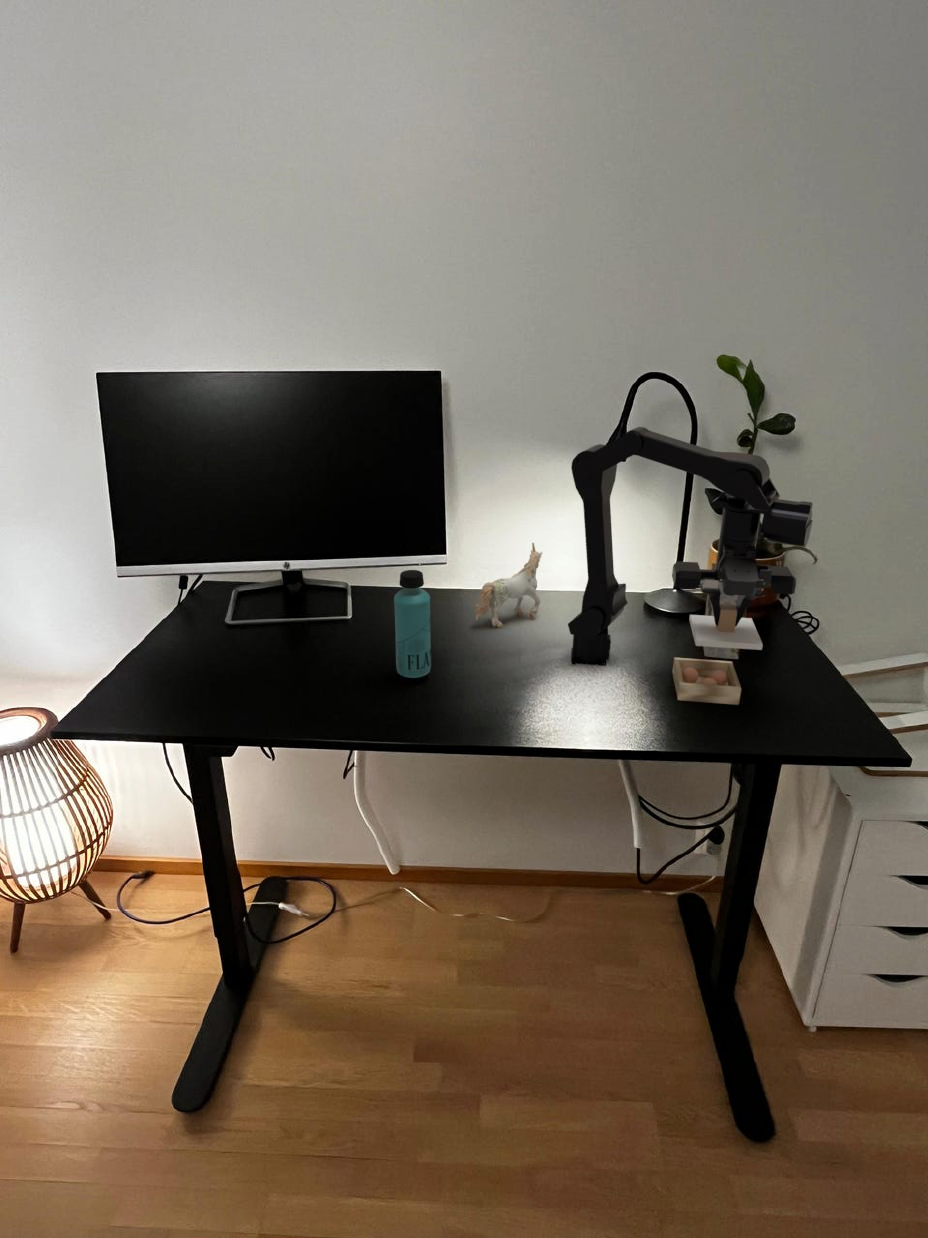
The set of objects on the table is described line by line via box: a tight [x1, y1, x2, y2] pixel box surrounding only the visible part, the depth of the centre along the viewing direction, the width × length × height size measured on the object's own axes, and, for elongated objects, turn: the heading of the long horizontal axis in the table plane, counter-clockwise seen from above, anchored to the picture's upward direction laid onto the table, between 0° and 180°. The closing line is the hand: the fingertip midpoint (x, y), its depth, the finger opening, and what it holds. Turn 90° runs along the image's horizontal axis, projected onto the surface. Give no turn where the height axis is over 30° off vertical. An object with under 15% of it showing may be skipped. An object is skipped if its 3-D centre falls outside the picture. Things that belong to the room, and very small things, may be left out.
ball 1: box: [682, 668, 699, 683], centre depth 142 cm, size 3×3×3 cm
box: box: [672, 657, 742, 706], centre depth 140 cm, size 10×10×4 cm
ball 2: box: [701, 678, 718, 685], centre depth 139 cm, size 3×3×3 cm
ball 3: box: [711, 670, 728, 686], centre depth 141 cm, size 3×3×3 cm
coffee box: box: [702, 562, 748, 660], centre depth 152 cm, size 9×6×16 cm
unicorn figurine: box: [474, 542, 543, 629], centre depth 166 cm, size 7×20×13 cm, turn 139°
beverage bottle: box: [393, 569, 433, 679], centre depth 141 cm, size 6×7×20 cm
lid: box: [688, 604, 764, 651], centre depth 135 cm, size 10×10×5 cm
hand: (725, 625), depth 136 cm, fingers closed on lid, 3 cm apart
